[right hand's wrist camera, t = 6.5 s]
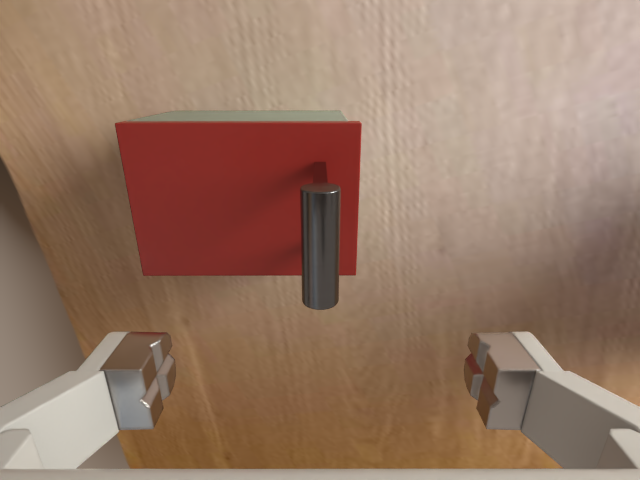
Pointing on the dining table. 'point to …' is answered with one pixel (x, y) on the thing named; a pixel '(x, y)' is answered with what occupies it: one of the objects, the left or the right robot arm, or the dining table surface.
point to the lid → (246, 199)
